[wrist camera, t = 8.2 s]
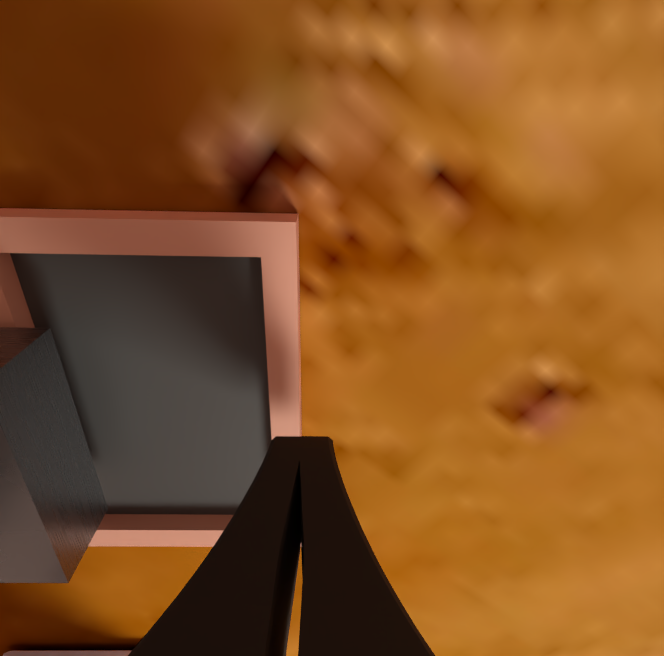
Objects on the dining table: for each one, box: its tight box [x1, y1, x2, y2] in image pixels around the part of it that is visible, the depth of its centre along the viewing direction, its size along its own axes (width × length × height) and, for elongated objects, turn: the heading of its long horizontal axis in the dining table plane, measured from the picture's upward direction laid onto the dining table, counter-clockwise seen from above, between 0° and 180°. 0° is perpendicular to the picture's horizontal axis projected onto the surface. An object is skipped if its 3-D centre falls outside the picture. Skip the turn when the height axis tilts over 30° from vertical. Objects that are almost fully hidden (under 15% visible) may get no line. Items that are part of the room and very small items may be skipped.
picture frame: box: [0, 208, 302, 547], centre depth 12 cm, size 11×8×1 cm
